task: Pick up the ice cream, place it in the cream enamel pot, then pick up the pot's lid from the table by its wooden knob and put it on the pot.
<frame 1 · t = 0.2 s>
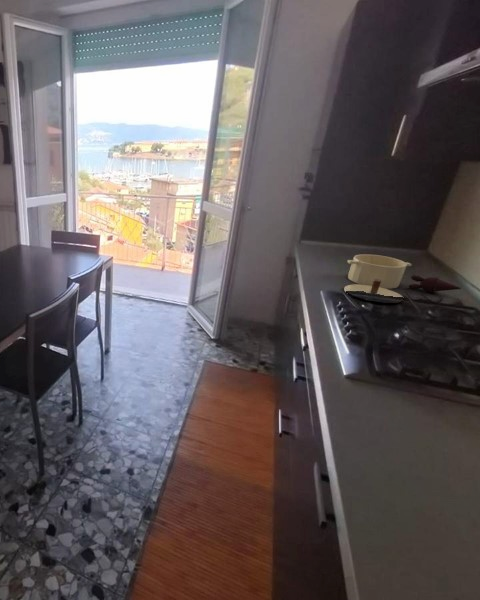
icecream: (430, 292, 145), on the worktop
lid: (372, 294, 142), point 1 cm above the worktop
pot: (372, 280, 157), on the worktop
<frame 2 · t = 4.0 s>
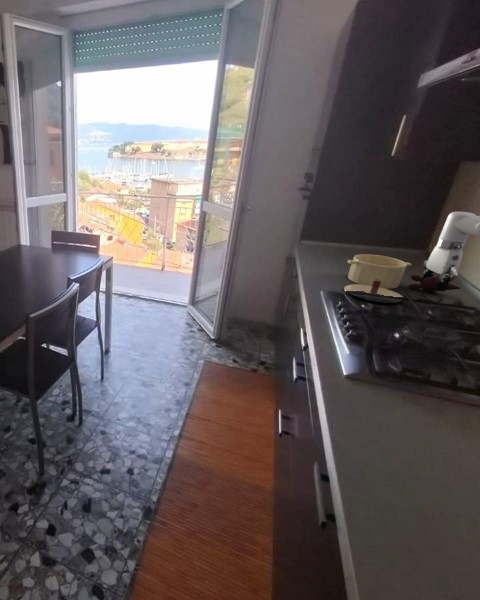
hand: (432, 286, 144), 2 cm above the worktop, tool pointing down, fingers closed on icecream, 7 cm apart
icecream: (430, 292, 145), on the worktop, touching gripper
everything else where it was.
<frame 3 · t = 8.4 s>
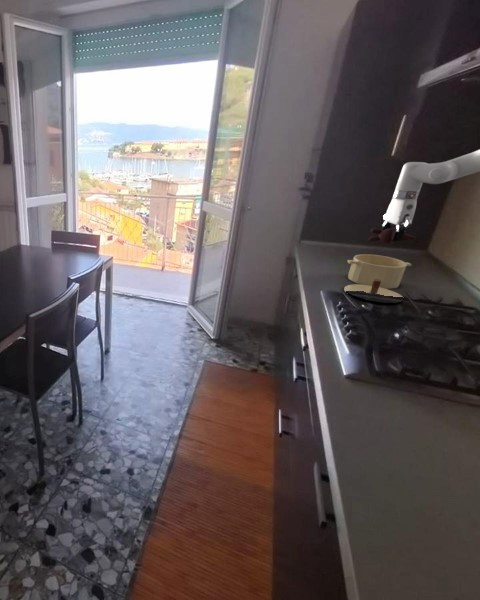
hand: (390, 238, 149), 19 cm above the worktop, tool pointing down, fingers closed on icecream, 7 cm apart
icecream: (388, 244, 150), point 17 cm above the worktop, touching gripper
everything else where it was.
when the fingers open (3 cm above the worktop, at t = 12.8 s): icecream stays where it is, resting on pot.
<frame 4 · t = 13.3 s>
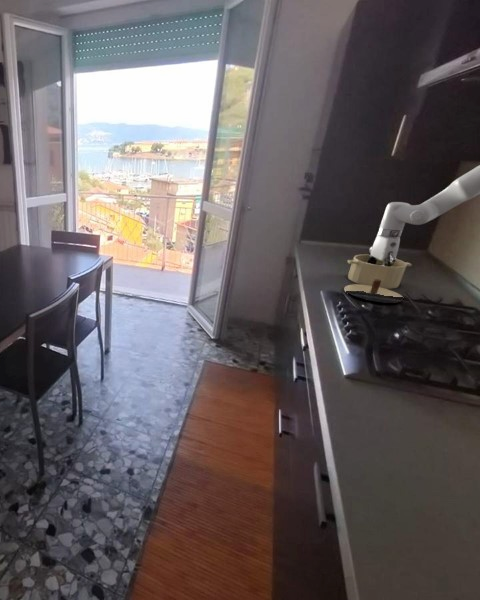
hand: (376, 271, 155), 4 cm above the worktop, tool pointing down, fingers open, 9 cm apart
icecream: (373, 280, 157), resting on pot
everything else where it was.
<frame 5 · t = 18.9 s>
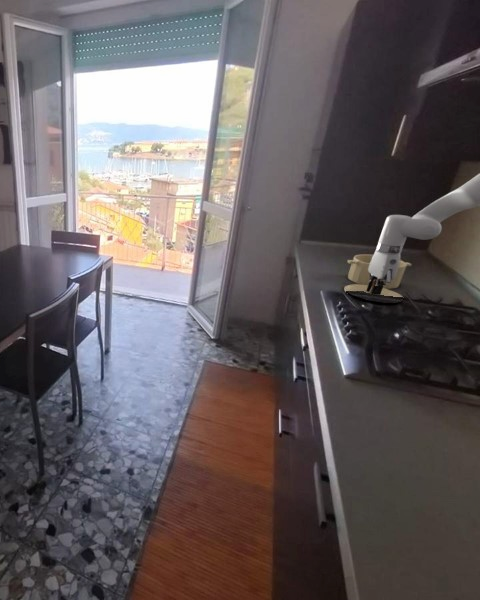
hand: (373, 292, 142), 1 cm above the worktop, tool pointing down, fingers closed on lid, 2 cm apart
lid: (372, 294, 142), point 1 cm above the worktop, touching gripper
everything else where it was.
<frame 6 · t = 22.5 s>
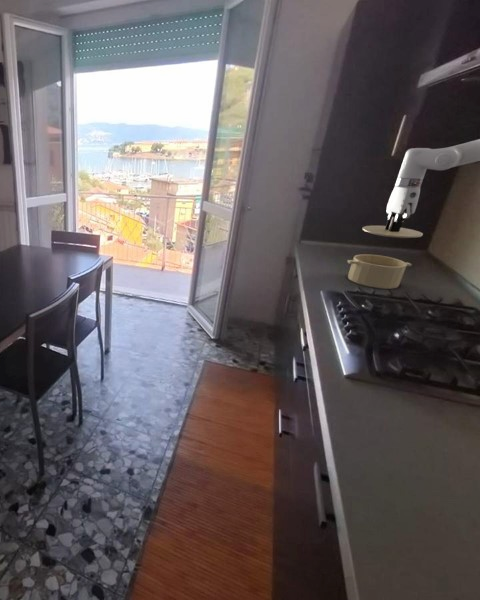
hand: (391, 230, 144), 24 cm above the worktop, tool pointing down, fingers closed on lid, 2 cm apart
lid: (391, 231, 144), point 23 cm above the worktop, touching gripper
everything else where it was.
when the fingers open (10 cm above the worktop, at t = 26.3 s): lid stays where it is, resting on pot.
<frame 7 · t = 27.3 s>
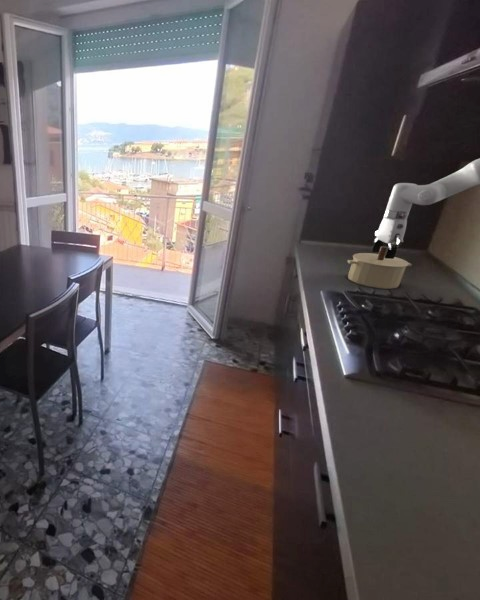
hand: (382, 255, 152), 12 cm above the worktop, tool pointing down, fingers open, 9 cm apart
lid: (379, 260, 153), point 9 cm above the worktop, touching pot
everything else where it was.
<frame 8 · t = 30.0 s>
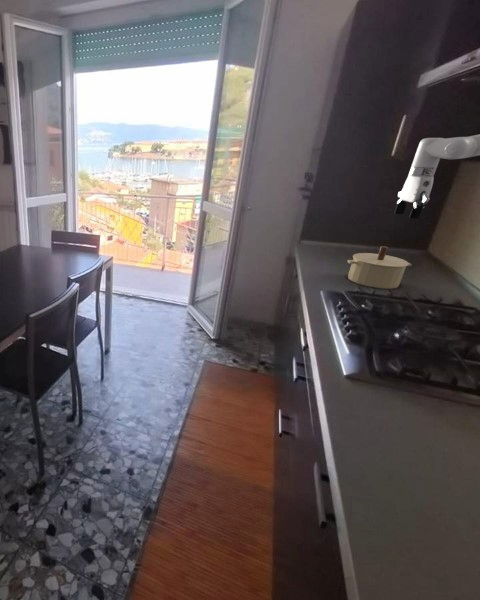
hand: (405, 216, 147), 28 cm above the worktop, tool pointing down, fingers open, 9 cm apart
nothing on the worktop moved.
at the end: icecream inside the target area in the pot (0.2 cm from its centre), point 0.3 cm above the pot's base; lid 0.0 cm off-centre on the pot, point 9.5 cm above the pot's base; lid tilted 0° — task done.
